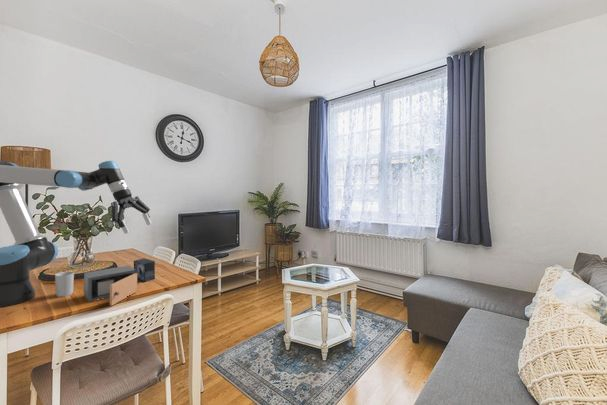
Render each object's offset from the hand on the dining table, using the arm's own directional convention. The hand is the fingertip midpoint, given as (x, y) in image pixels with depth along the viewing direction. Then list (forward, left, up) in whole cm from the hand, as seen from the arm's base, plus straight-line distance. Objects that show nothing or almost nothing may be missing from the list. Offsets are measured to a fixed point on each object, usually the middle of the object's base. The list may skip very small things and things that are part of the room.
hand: (139, 228), depth 134 cm
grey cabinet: (-13, -2, -30) cm, 33 cm away
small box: (+5, +10, -31) cm, 33 cm away
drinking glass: (-28, +11, -31) cm, 43 cm away
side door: (-9, -14, -30) cm, 34 cm away
